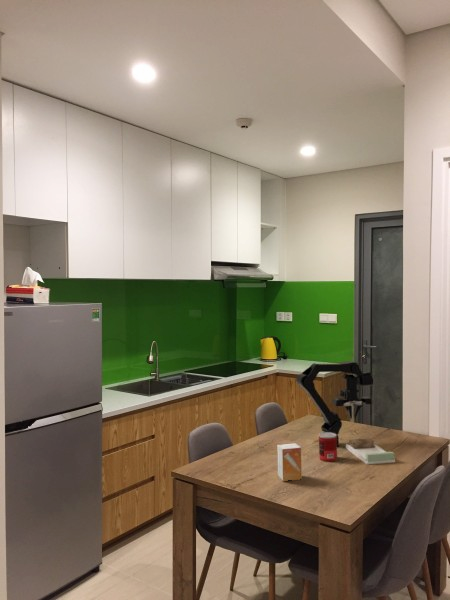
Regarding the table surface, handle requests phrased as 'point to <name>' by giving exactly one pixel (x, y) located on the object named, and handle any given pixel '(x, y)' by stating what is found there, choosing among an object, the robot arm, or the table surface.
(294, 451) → the small box
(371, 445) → the block
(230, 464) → the table surface
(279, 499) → the table surface
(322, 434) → the canned food
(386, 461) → the track
